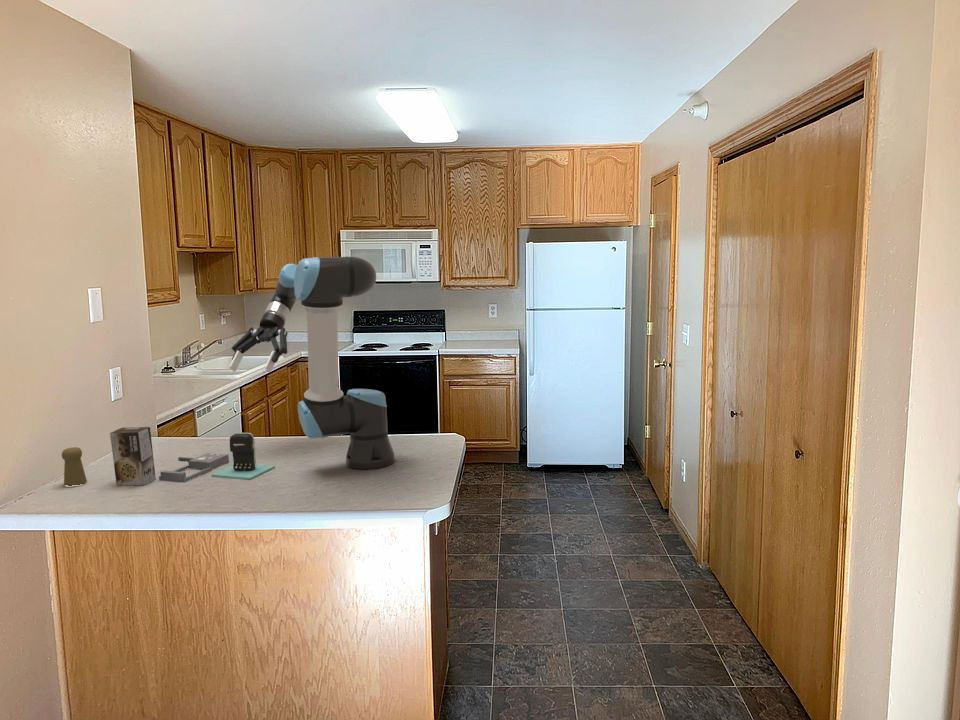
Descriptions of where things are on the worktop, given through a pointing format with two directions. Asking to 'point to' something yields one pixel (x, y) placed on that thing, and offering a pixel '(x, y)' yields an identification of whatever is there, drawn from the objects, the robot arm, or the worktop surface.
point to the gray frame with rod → (195, 466)
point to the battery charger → (243, 451)
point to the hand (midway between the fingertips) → (249, 369)
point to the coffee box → (133, 456)
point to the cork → (73, 467)
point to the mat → (243, 472)
